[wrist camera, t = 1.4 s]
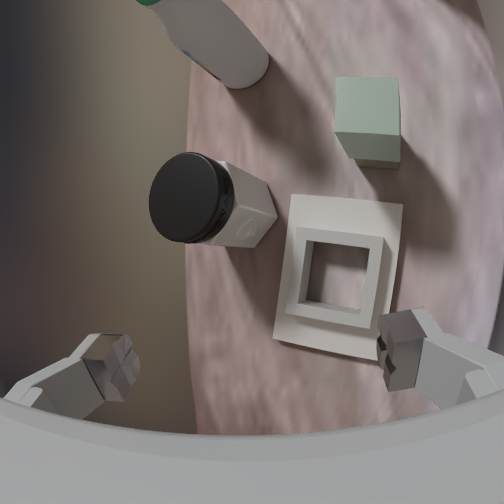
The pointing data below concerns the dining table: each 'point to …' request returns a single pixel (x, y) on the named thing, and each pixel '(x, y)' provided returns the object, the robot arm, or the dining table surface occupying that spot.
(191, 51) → the milk bottle
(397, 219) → the socket
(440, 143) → the dining table surface
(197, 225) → the jar
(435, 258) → the dining table surface
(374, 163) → the plug
